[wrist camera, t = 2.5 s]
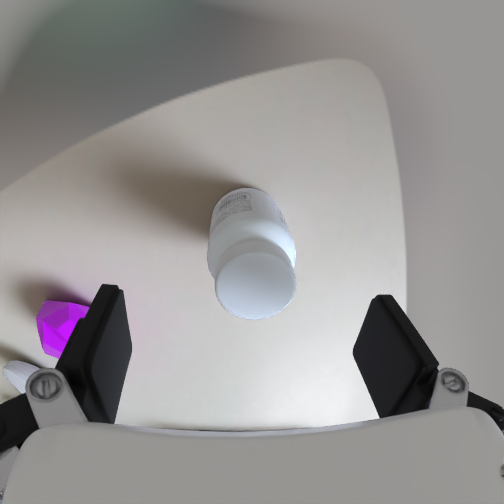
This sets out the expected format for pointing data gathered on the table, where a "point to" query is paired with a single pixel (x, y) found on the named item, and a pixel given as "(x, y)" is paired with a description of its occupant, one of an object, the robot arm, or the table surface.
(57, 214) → the table surface
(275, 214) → the pill bottle
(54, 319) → the crystal
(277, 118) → the table surface
